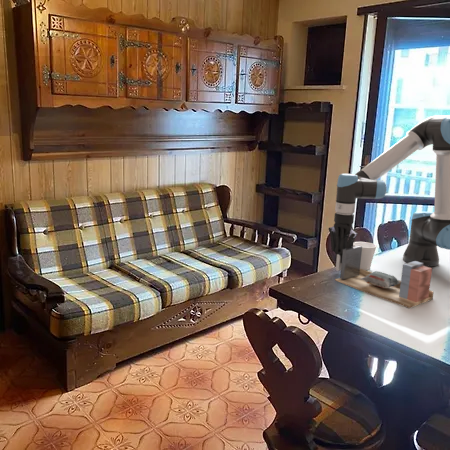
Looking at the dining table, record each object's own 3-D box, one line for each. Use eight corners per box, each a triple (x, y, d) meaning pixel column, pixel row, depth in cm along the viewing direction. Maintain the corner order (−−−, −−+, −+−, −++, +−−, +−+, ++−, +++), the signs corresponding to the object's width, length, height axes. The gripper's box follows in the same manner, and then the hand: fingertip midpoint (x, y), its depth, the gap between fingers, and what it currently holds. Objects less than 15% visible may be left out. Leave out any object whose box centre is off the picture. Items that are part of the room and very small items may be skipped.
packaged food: (387, 293, 171) (389, 280, 170) (359, 283, 179) (361, 271, 178) (399, 288, 177) (401, 276, 176) (371, 279, 185) (373, 267, 184)
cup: (375, 273, 197) (378, 248, 194) (351, 271, 198) (353, 246, 196) (372, 266, 206) (375, 242, 204) (349, 265, 208) (351, 240, 205)
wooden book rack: (358, 275, 194) (361, 244, 191) (432, 299, 170) (437, 264, 167) (335, 281, 185) (337, 249, 182) (409, 308, 161) (414, 271, 158)
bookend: (355, 274, 191) (358, 245, 188) (359, 275, 190) (362, 246, 187) (340, 278, 185) (343, 249, 182) (343, 279, 184) (346, 250, 181)
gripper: (325, 211, 190) (320, 267, 195) (352, 216, 180) (346, 275, 185) (337, 209, 195) (332, 264, 200) (364, 215, 185) (358, 272, 190)
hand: (339, 269), depth 192 cm, fingers closed
